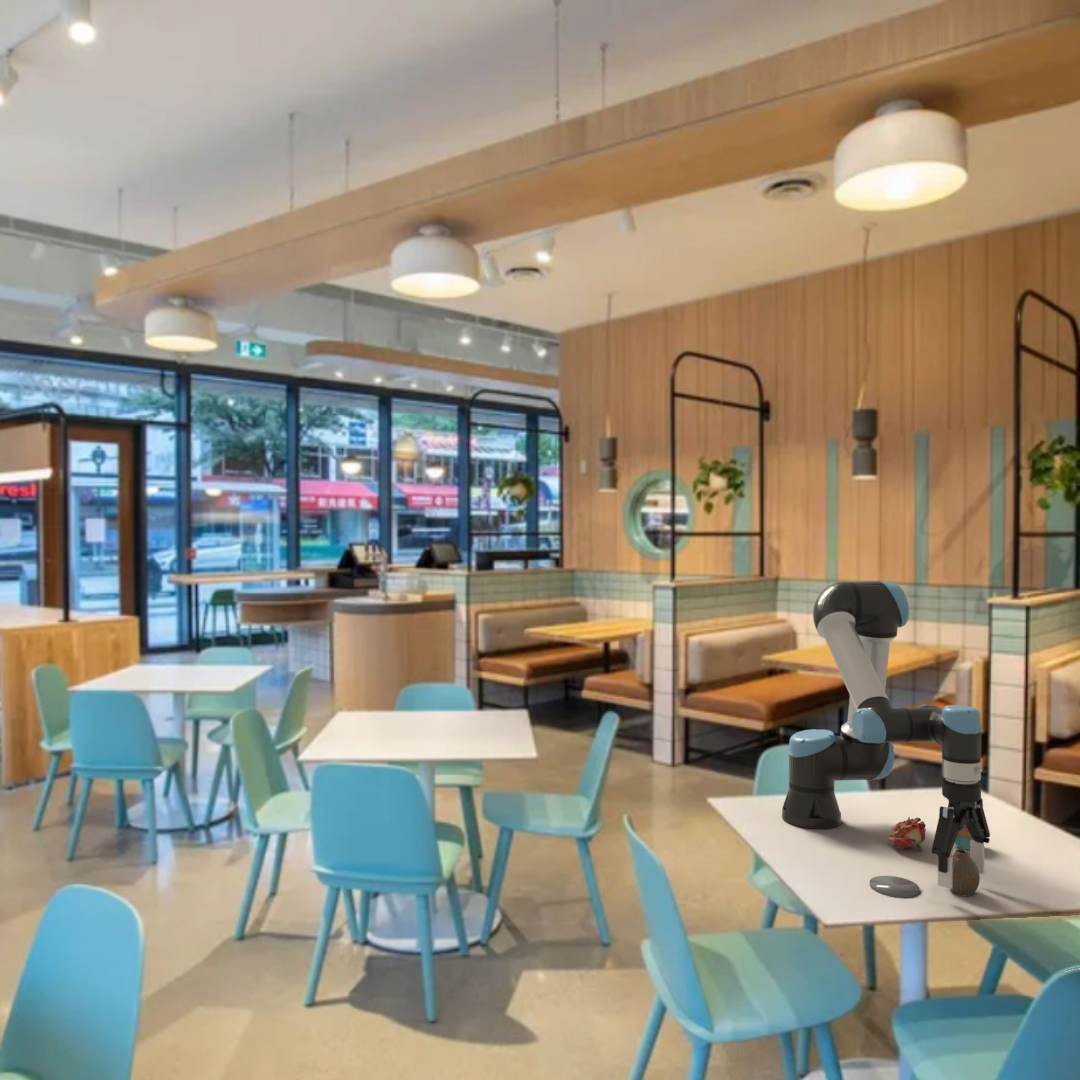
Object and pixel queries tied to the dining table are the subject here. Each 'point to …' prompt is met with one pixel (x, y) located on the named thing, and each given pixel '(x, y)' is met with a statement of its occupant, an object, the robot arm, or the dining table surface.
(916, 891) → the grey flat disc
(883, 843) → the dining table surface
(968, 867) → the vase
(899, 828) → the flower
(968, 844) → the cupcake
